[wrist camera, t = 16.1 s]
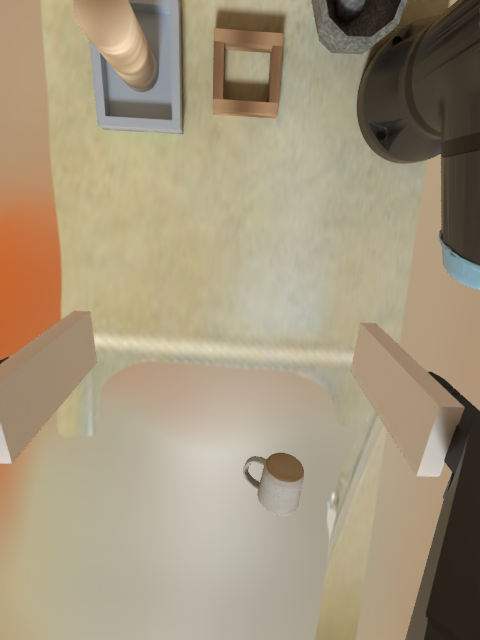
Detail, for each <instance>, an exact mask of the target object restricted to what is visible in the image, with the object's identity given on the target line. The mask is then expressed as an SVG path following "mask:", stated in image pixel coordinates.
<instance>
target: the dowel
mask: <svg viewBox="0 0 480 640" xmlns="http://www.w3.org/2000/svg"><path fill="white" fill-rule="evenodd" d="M74 13H75V17H76V20H77V22H78V24H79V26H80V28H81V30H82V31H83V32H84V33H85V35H86V36H87V37H88V38H89V40H90V41H91V42H92V43H93V44H94V46H95V47H96V48H97V49H98V50H99V52H100V53H101V54H102V55H103V56H104V58H105V59H106V60H107V61H108V63H109V64H110V65H111V66H112V67H113V69H114V70H115V71H116V72H117V73H118V75H119V76H120V77H121V78H122V79H123V81H124V82H125V83H126V84H127V85H128V86H129V87H130V88H131V89H133V90H135V91H137V92H146V91H149V90H150V89H152V88H153V87H154V86H155V84H156V82H157V80H158V76H159V68H158V64H157V61H156V59H155V57H154V54H153V52H152V50H151V48H150V46H149V44H148V42H147V40H146V37H145V35H144V33H143V31H142V29H141V27H140V25H139V22H138V20H137V18H136V16H135V14H134V12H133V10H132V7H131V5H130V3H129V1H128V0H74Z"/></svg>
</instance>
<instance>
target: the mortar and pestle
mask: <svg viewBox="0 0 480 640" xmlns="http://www.w3.org/2000/svg"><path fill="white" fill-rule="evenodd" d="M407 1H408V0H312V6H313V11H314V17H315V22H316V28H317V33H318V36H319V41H320V42H321V43H322V44H323V45H324V46H325V47H326V48H327V49H328V50H329V51H330V52H331V53H350V54H362V53H364V52H366V51H367V50H369V49H370V48H371V47H372V46H374V45H375V44H376V43H377V42H379V41H380V40H381V39H383V38H384V37H385V36H386V35H388V34H389V33H390V32H391V31H392V30H393V29H394V28H395V27H396V26H397V25H398V24H399V22H400V19H401V17H402V14H403V12H404V9H405V6H406V4H407Z"/></svg>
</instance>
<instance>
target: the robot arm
mask: <svg viewBox="0 0 480 640" xmlns="http://www.w3.org/2000/svg"><path fill="white" fill-rule="evenodd" d="M357 116H358V122H359V126H360V130H361V132H362V135H363V137H364V139H365V141H366V142H367V144H368V145H369V146H370V148H371V149H372V150H373V151H374V152H375V153H376V154H378V155H379V156H381V157H382V158H384V159H386V160H388V161H391V162H395V163H405V164H406V163H414V162H419V161H424V160H427V159H430V158H433V157H435V156H437V155H439V154H441V213H442V215H441V216H442V229H441V231H440V234H439V239H440V242H441V245H442V254H443V265H444V268H445V269H446V270H447V272H448V273H449V275H450V276H451V277H452V278H454V279H455V280H457V281H458V282H460V283H462V284H464V285H466V286H469V287H471V288H475V289H478V290H480V0H457V1H456V2H455V3H454V4H453V5H452V6H451V7H449V8H448V9H447V10H446V11H445V12H444V13H443V14H442V15H438V16H434V17H430V18H426V19H422V20H419V21H416V22H414V23H411V24H410V25H408V26H406V27H404V28H403V29H401V30H400V31H398V32H397V33H396V34H395V35H393V36H392V37H391V38H390V39H389V40H388V41H387V42H386V43H385V44H384V45H383V46H382V47H381V48H380V49H379V50H378V51H377V53H376V54H375V55H374V57H373V58H372V60H371V61H370V63H369V64H368V66H367V68H366V70H365V72H364V75H363V77H362V80H361V83H360V87H359V92H358V99H357ZM96 363H97V359H96V352H95V344H94V337H93V329H92V322H91V314H90V312H89V311H73V312H72V313H70V314H69V315H68V316H66V317H65V318H63V319H62V320H61V321H59V322H58V323H57V324H55V325H54V326H53V327H51V328H50V329H48V330H47V331H45V332H44V333H43V334H41V335H40V336H38V337H37V338H36V339H34V340H33V341H32V342H30V343H29V344H27V345H26V346H25V347H23V348H22V349H20V350H19V351H18V352H16V353H15V354H13V355H12V356H11V357H7V358H5V359H3V360H0V463H13V462H14V461H15V459H16V458H17V457H18V456H19V455H20V453H21V452H22V451H23V450H24V449H25V447H26V446H27V445H28V444H29V443H30V441H31V440H32V439H33V438H34V437H35V435H36V434H37V433H38V432H39V430H41V428H42V427H43V426H44V425H45V423H46V422H47V421H48V420H49V419H50V418H51V416H52V415H53V414H54V412H56V410H57V409H58V408H59V407H60V406H61V404H62V403H63V402H64V401H65V400H66V398H67V397H68V396H69V395H70V394H71V392H72V391H73V390H74V389H75V388H76V386H77V385H78V384H79V383H80V382H81V380H82V379H83V378H84V377H85V376H86V374H87V373H88V372H89V371H90V370H91V368H92V367H93V366H94V365H95V364H96ZM351 373H352V375H353V376H354V378H355V379H356V381H357V382H358V384H359V386H360V387H361V389H362V390H363V392H364V394H365V395H366V397H367V398H368V400H369V401H370V403H371V405H372V406H373V408H374V409H375V411H376V413H377V414H378V416H379V417H380V419H381V421H382V422H383V424H384V425H385V427H386V428H387V430H388V432H389V433H390V435H391V436H392V438H393V440H394V441H395V443H396V444H397V446H398V448H399V449H400V451H401V452H402V454H403V455H404V457H405V459H406V460H407V462H408V463H409V465H410V467H411V468H412V470H413V471H414V473H415V475H416V476H434V477H435V476H436V477H439V476H440V474H441V471H442V468H443V465H444V463H446V464H447V465H448V467H449V468H450V469H451V471H452V475H451V477H450V480H449V482H448V485H447V488H446V490H445V493H444V495H443V498H444V501H443V505H442V509H441V512H440V516H439V520H438V523H437V527H436V531H435V534H434V538H433V541H432V545H431V548H430V552H429V556H428V559H427V563H426V567H425V570H424V574H423V578H422V581H421V585H420V588H419V592H418V596H417V600H416V603H415V607H414V610H413V614H412V617H411V621H410V625H409V628H408V632H407V636H406V639H405V640H480V411H479V410H478V409H477V408H476V407H475V406H473V405H472V404H471V403H470V402H469V401H468V400H467V399H466V398H465V397H463V396H462V395H460V393H459V392H458V391H457V390H456V389H454V388H453V387H452V386H451V385H450V384H449V383H448V382H447V381H445V380H444V379H443V378H441V377H440V376H438V375H436V374H434V373H432V372H426V370H425V369H424V368H422V367H421V366H420V365H419V364H418V363H417V362H416V361H415V360H414V359H413V358H412V357H411V356H410V355H409V354H408V353H407V352H406V351H405V350H404V349H402V348H401V347H400V346H399V345H398V344H397V343H396V342H395V341H394V340H393V339H392V338H391V337H390V336H389V335H388V334H387V333H386V332H384V331H383V330H382V329H381V328H380V327H379V326H378V325H377V324H376V323H360V327H359V332H358V337H357V342H356V347H355V352H354V357H353V363H352V368H351Z"/></svg>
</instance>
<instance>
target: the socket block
mask: <svg viewBox="0 0 480 640" xmlns="http://www.w3.org/2000/svg"><path fill="white" fill-rule="evenodd" d="M283 39H284V33H272V32H259V31H246V30H233V29H220V28H214V66H213V114H217V115H233V116H249V117H265V118H276V117H277V115H278V107H279V94H280V80H281V66H282V53H283ZM224 49H226V50H239V51H253V52H266V53H270V69H269V85H268V101H267V102H256V101H241V100H226V99H223V81H224Z"/></svg>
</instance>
